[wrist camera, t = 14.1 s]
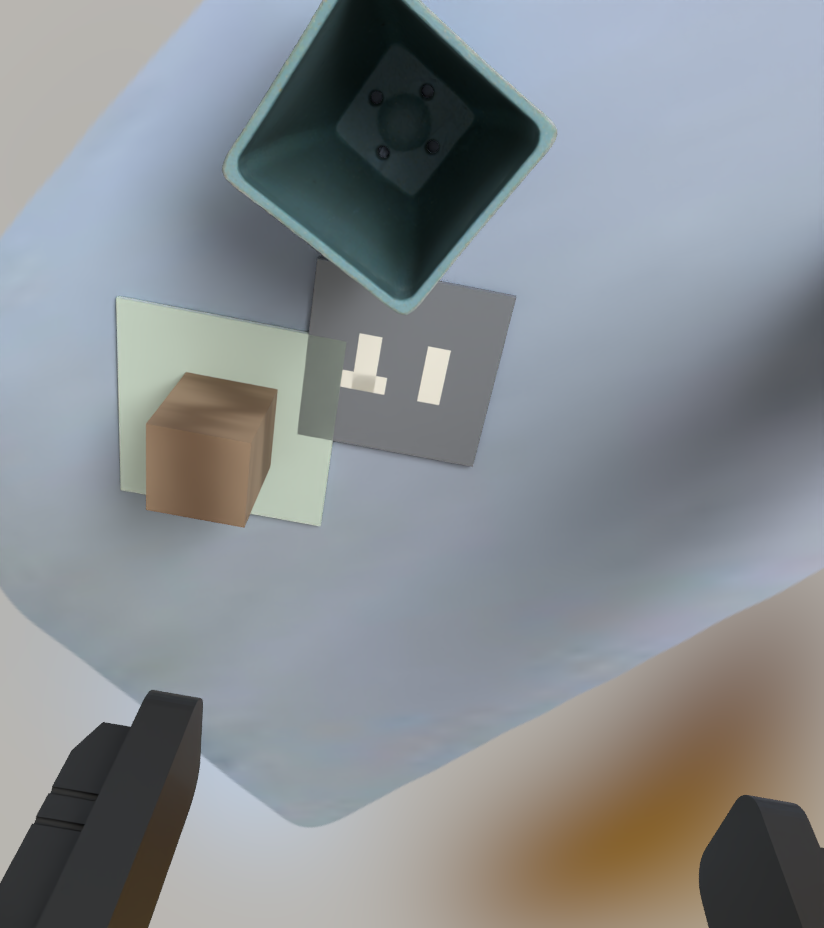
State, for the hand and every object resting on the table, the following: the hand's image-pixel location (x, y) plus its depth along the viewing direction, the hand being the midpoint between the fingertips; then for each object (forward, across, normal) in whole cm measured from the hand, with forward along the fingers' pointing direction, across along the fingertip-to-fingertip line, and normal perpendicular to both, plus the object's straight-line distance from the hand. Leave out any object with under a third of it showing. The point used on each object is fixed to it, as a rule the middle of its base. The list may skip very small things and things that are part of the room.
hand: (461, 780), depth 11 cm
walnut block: (+30, +11, +12) cm, 34 cm away
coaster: (+30, +11, +12) cm, 34 cm away
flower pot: (+30, +4, -5) cm, 31 cm away
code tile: (+30, +2, +7) cm, 31 cm away
